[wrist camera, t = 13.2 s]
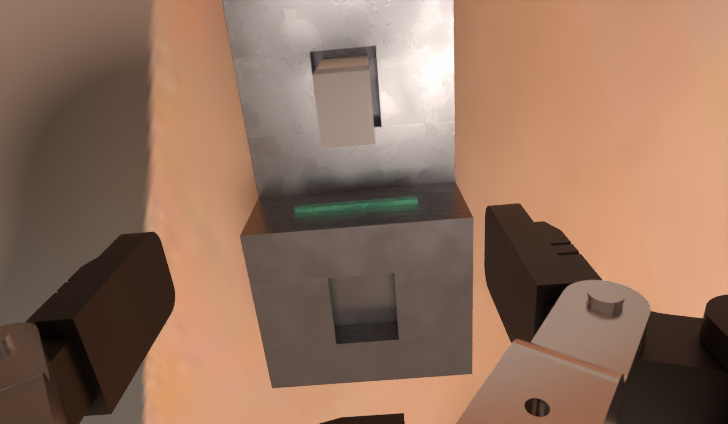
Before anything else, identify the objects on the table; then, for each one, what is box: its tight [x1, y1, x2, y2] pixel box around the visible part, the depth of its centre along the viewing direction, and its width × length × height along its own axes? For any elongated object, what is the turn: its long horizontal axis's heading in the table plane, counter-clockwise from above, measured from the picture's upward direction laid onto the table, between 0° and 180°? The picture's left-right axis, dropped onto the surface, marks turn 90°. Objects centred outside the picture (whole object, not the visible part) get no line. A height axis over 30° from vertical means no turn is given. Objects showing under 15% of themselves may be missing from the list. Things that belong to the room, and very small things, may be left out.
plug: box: [313, 53, 375, 148], centre depth 30 cm, size 4×3×8 cm
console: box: [222, 0, 473, 388], centre depth 33 cm, size 26×14×9 cm, turn 5°
